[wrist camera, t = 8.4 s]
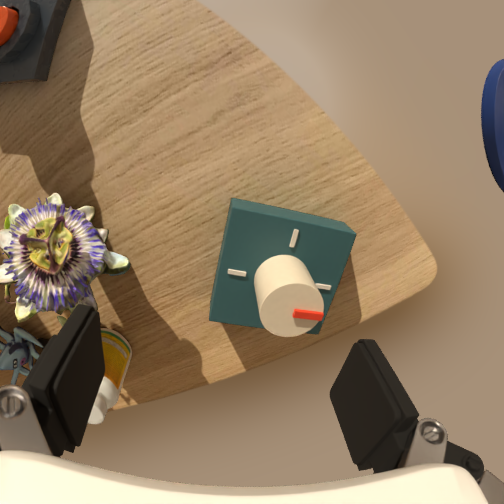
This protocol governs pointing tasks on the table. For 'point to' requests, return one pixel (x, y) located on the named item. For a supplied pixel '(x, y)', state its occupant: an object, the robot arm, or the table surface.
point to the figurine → (19, 351)
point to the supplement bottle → (111, 373)
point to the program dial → (287, 296)
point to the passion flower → (54, 257)
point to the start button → (7, 23)
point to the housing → (31, 40)
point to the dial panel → (269, 245)
